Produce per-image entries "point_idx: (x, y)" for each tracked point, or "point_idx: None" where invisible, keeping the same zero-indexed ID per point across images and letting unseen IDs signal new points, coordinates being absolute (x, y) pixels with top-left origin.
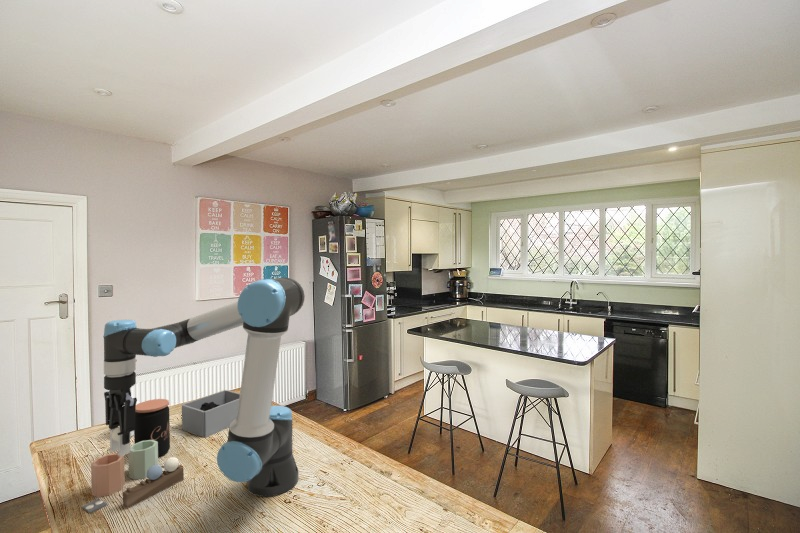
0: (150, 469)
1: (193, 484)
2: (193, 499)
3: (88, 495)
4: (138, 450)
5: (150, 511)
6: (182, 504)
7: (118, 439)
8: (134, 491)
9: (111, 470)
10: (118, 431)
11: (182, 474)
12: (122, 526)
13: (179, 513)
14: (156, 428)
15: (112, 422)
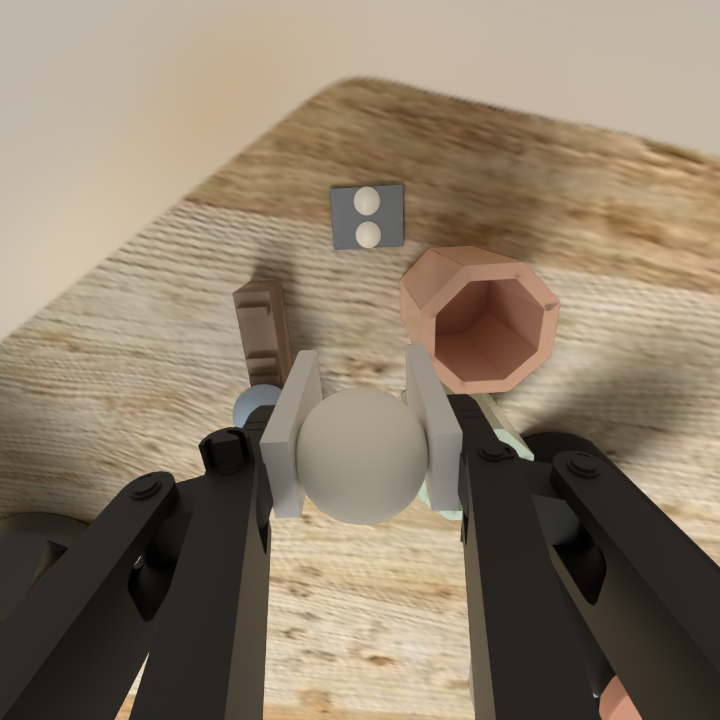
0: (250, 409)
1: None
2: (136, 419)
3: (471, 234)
4: None
5: (169, 319)
6: (132, 390)
7: (294, 408)
8: (238, 320)
9: (415, 315)
10: (316, 460)
11: None
12: (145, 227)
13: (86, 364)
14: None
15: (472, 511)
